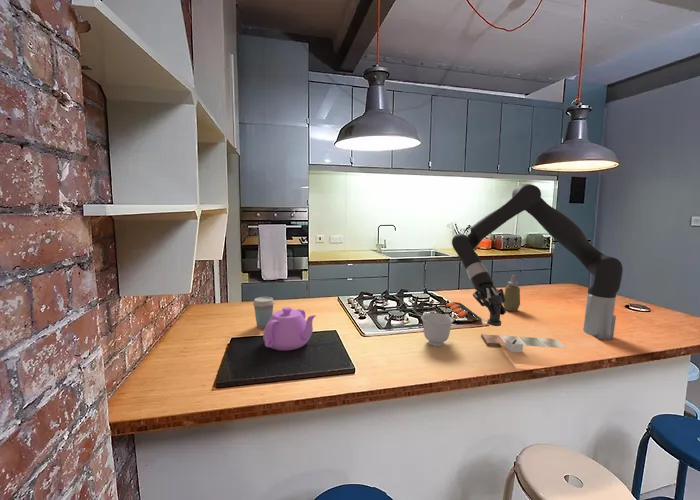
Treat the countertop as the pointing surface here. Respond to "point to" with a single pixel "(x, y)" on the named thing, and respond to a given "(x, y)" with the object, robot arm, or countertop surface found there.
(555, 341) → the board
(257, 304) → the coffee cup
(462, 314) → the sushi plate
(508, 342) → the die
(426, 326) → the teacup
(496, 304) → the pawn
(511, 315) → the countertop surface
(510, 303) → the squeeze bottle
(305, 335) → the teapot
